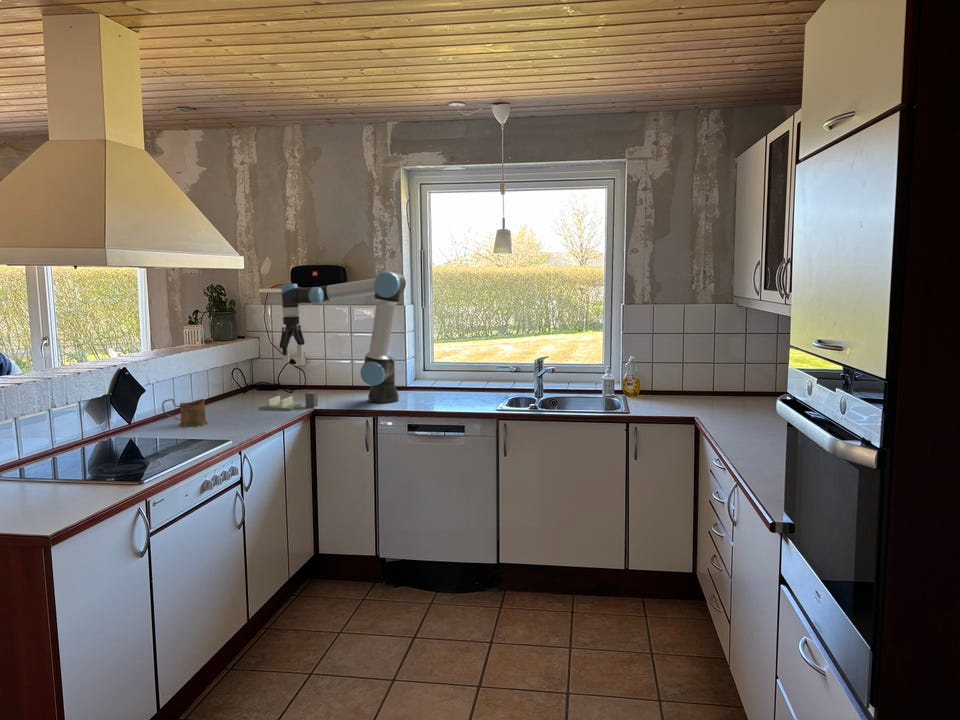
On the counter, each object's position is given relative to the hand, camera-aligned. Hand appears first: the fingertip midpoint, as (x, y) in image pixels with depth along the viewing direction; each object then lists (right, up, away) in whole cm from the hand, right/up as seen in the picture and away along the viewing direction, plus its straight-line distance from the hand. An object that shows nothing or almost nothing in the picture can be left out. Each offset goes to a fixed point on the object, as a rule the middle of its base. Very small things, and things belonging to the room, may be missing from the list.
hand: (293, 360), depth 344 cm
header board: (-5, -23, -5) cm, 24 cm away
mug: (-34, -28, -42) cm, 61 cm away
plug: (+10, -23, -4) cm, 25 cm away
